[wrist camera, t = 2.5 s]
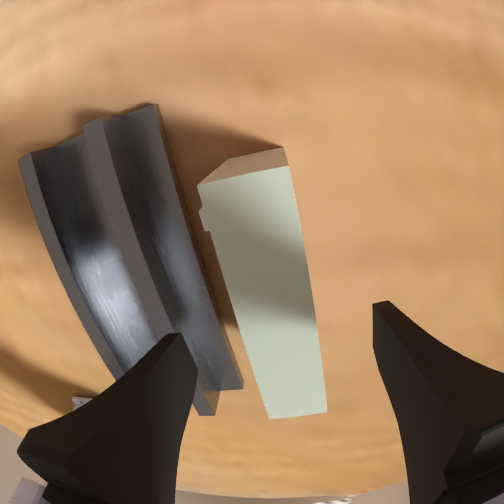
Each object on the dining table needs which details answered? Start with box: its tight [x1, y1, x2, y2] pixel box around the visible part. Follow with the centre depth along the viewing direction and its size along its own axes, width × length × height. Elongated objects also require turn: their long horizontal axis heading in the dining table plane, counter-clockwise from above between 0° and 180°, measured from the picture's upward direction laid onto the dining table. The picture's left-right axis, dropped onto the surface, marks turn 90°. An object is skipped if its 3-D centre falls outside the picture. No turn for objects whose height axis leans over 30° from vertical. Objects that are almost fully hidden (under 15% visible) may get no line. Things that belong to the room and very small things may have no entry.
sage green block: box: [197, 147, 327, 419], centre depth 15 cm, size 12×4×7 cm, turn 13°
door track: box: [18, 104, 244, 416], centre depth 18 cm, size 20×10×3 cm, turn 13°
